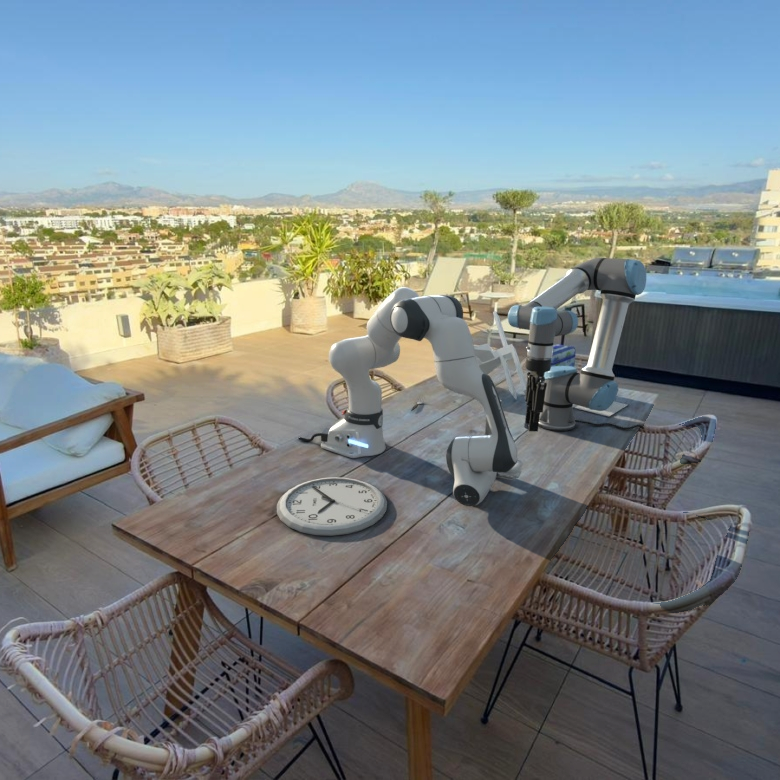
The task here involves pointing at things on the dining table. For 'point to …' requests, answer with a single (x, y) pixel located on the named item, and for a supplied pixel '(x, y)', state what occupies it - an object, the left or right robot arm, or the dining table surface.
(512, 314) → the right robot arm
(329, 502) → the wall clock
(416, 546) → the dining table surface
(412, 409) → the fork
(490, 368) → the white plastic object
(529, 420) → the cap
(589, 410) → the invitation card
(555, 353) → the lunch box
